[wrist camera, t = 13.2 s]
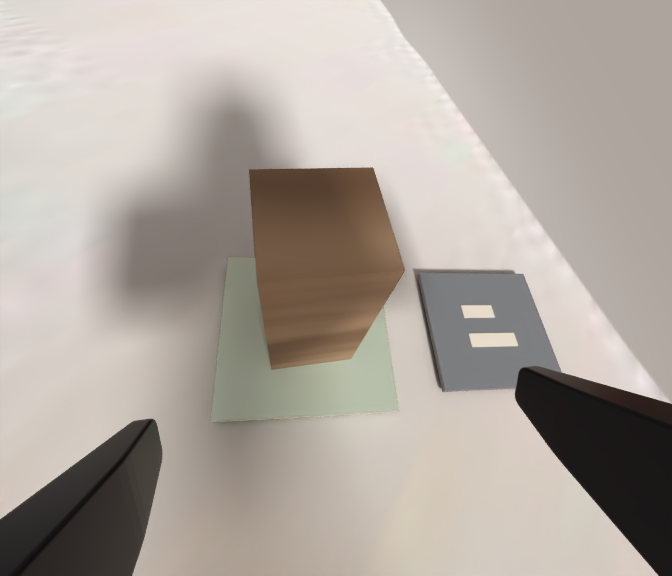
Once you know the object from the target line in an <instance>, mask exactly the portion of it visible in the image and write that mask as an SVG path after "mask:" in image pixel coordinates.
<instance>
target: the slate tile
mask: <svg viewBox="0 0 672 576" xmlns="http://www.w3.org/2000/svg"><path fill="white" fill-rule="evenodd" d="M418 280H419V284H420V289H421V294H422V298H423V303H424V308H425V312H426V317H427V322H428V326H429V331H430V336H431V340H432V345H433V350H434V354H435V359H436V364H437V368H438V373H439V378H440V383H441V387H442V392H448V391H470V390H491V389H512V388H516V384H517V377H518V372H519V370H520V369H521V368H522V367H528V366H540V367H543V368H547V369H550V370H554V371H557V372H561V369H560V367H559V364H558V362H557V359H556V357H555V354H554V352H553V349H552V346H551V344H550V341H549V339H548V336H547V334H546V331H545V328H544V326H543V323H542V321H541V318H540V316H539V313H538V311H537V308H536V305H535V303H534V300H533V298H532V295H531V293H530V290H529V287H528V285H527V282H526V280H525V277H524V275H523V274H491V273H419V274H418ZM561 373H562V372H561Z"/></svg>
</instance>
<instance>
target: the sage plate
mask: <svg viewBox="0 0 672 576" xmlns="http://www.w3.org/2000/svg"><path fill="white" fill-rule="evenodd" d="M398 411H399V406H398V400H397V393H396V386H395V379H394V373H393V366H392V359H391V353H390V346H389V339H388V333H387V326H386V319H385V312H384V306H383V307H382V309H381V311H380V312H379V314H378V316H377V317H376V319H375V321H374V322H373V324H372V326H371V327H370V329H369V330H368V332H367V334H366V335H365V337H364V339H363V340H362V342H361V344H360V345H359V347H358V349H357V350H356V352H355V354H354V355H353V357H352V358H351V359H348V360H341V361H333V362H326V363H318V364H311V365H304V366H296V367H289V368H281V369H274V370H271V365H270V359H269V353H268V347H267V341H266V335H265V329H264V323H263V317H262V311H261V305H260V299H259V293H258V287H257V279H256V264H255V257H228V259H227V269H226V278H225V288H224V297H223V307H222V316H221V325H220V335H219V344H218V354H217V363H216V373H215V382H214V391H213V401H212V410H211V420H210V421H211V422H230V421H248V420H266V419H284V418H302V417H320V416H338V415H356V414H374V413H392V412H398Z"/></svg>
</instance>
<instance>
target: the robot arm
mask: <svg viewBox="0 0 672 576" xmlns="http://www.w3.org/2000/svg"><path fill="white" fill-rule="evenodd" d="M515 398H516V401H517V403H518V405H519V406H520V408H521V409H522V410H523V412H524V413H525V415H526V416H527V417H528V419H529V420H530V421H531V423H532V424H533V426H534V427H535V428H536V430H537V431H538V432H539V434H540V435H541V437H542V438H543V439H544V441H545V442H546V443H547V445H548V446H549V447H550V449H551V450H552V451H553V453H554V454H555V455H556V457H557V458H558V459H559V460H560V461H561V463H562V464H563V465H564V466H565V467H566V468H567V470H568V471H569V472H570V473H571V474H572V475H573V477H574V478H575V479H576V480H577V481H578V482H579V484H580V485H581V486H582V487H583V488H584V489H585V491H586V492H587V493H588V494H589V495H590V496H591V498H592V499H593V500H594V501H595V502H596V503H597V505H598V506H599V507H600V508H601V509H602V510H603V512H604V513H605V514H606V515H607V516H608V517H609V519H610V520H611V521H612V522H613V523H614V524H615V526H616V527H617V528H618V529H619V530H620V531H621V532H622V534H623V535H624V536H625V537H626V538H627V539H628V541H629V542H630V543H631V544H632V545H633V546H634V548H635V549H636V550H637V551H638V552H639V553H640V555H641V556H642V557H643V558H644V559H645V560H646V562H647V563H648V564H649V565H650V566H651V567H652V569H653V570H654V571H655V572H656V573H657V574H658V576H672V404H670V403H667V402H663V401H659V400H656V399H652V398H649V397H645V396H642V395H638V394H635V393H631V392H628V391H624V390H621V389H617V388H614V387H610V386H607V385H603V384H600V383H596V382H593V381H589V380H586V379H582V378H579V377H575V376H572V375H568V374H565V373H561V372H557V371H554V370H550V369H547V368H543V367H540V366H528V367H522V368H521V369H520V370H519V372H518V377H517V384H516V390H515ZM161 463H162V446H161V441H160V437H159V432H158V427H157V423H156V421H155V420H154V419H145V420H137V421H133V422H131V423H130V424H128V425H127V426H126V427H124V428H123V429H122V430H120V431H119V432H118V433H116V434H115V435H114V436H112V437H111V438H109V439H108V440H107V441H105V442H104V443H103V444H101V445H100V446H99V447H97V448H96V449H95V450H93V451H92V452H91V453H89V454H88V455H86V456H85V457H84V458H82V459H81V460H80V461H78V462H77V463H76V464H74V465H73V466H72V467H70V468H69V469H68V470H66V471H65V472H64V473H62V474H61V475H59V476H58V477H57V478H55V479H54V480H53V481H51V482H50V483H49V484H47V485H46V486H45V487H43V488H42V489H41V490H39V491H38V492H36V493H35V494H34V495H32V496H31V497H30V498H28V499H27V500H26V501H24V502H23V503H22V504H20V505H19V506H18V507H16V508H15V509H13V510H12V511H11V512H9V513H8V514H7V515H5V516H4V517H3V518H1V519H0V576H132V574H133V571H134V568H135V565H136V562H137V559H138V556H139V553H140V550H141V547H142V543H143V540H144V537H145V533H146V529H147V525H148V520H149V516H150V511H151V507H152V503H153V498H154V494H155V489H156V485H157V480H158V476H159V471H160V467H161Z"/></svg>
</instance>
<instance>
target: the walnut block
mask: <svg viewBox="0 0 672 576" xmlns="http://www.w3.org/2000/svg"><path fill="white" fill-rule="evenodd" d="M249 175H250V190H251V205H252V220H253V234H254V249H255V264H256V279H257V287H258V293H259V299H260V305H261V311H262V317H263V323H264V329H265V335H266V341H267V347H268V353H269V359H270V365H271V370H274V369H281V368H289V367H296V366H304V365H311V364H318V363H326V362H333V361H341V360H348V359H351V358H352V357H353V355H354V354H355V352H356V350H357V349H358V347H359V345H360V344H361V342H362V340H363V339H364V337H365V335H366V334H367V332H368V330H369V329H370V327H371V326H372V324H373V322H374V321H375V319H376V317H377V316H378V314H379V312H380V311H381V309H382V307H383V306H384V304H385V302H386V301H387V299H388V298H389V296H390V294H391V293H392V291H393V289H394V288H395V286H396V284H397V283H398V281H399V279H400V278H401V276H402V274H403V273H404V271H405V269H404V266H403V262H402V259H401V256H400V253H399V249H398V246H397V243H396V240H395V236H394V233H393V230H392V227H391V224H390V220H389V217H388V214H387V211H386V207H385V204H384V201H383V198H382V194H381V191H380V188H379V185H378V182H377V178H376V175H375V172H374V169H373V168H318V169H258V170H249Z"/></svg>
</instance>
